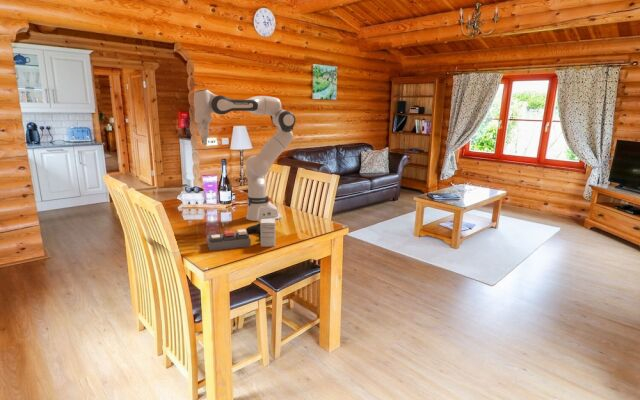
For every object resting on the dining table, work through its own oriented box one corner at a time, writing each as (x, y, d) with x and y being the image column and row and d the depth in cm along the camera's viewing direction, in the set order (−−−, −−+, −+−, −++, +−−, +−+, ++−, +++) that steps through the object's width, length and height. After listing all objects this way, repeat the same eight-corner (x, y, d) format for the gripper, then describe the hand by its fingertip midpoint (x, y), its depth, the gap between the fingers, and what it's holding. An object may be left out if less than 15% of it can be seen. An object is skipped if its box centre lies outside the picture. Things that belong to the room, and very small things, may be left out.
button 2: (245, 231, 190) (245, 229, 190) (246, 234, 186) (246, 231, 186) (237, 232, 188) (237, 229, 188) (238, 235, 185) (238, 232, 184)
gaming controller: (264, 244, 196) (278, 232, 201) (259, 237, 193) (273, 224, 198) (248, 236, 209) (261, 225, 213) (243, 229, 205) (256, 217, 210)
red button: (232, 233, 187) (232, 230, 187) (233, 235, 184) (233, 232, 183) (224, 233, 186) (224, 231, 186) (225, 236, 182) (225, 233, 182)
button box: (245, 238, 198) (245, 228, 196) (250, 246, 187) (250, 235, 186) (206, 242, 190) (206, 232, 189) (209, 250, 179) (209, 239, 178)
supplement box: (261, 241, 194) (261, 218, 191) (275, 241, 194) (275, 218, 191) (260, 246, 186) (260, 222, 184) (275, 246, 187) (275, 222, 184)
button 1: (219, 237, 185) (219, 234, 185) (220, 239, 182) (220, 236, 181) (211, 238, 184) (210, 235, 183) (212, 240, 180) (212, 237, 180)
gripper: (211, 120, 201) (212, 145, 204) (206, 119, 219) (208, 142, 222) (198, 120, 198) (200, 146, 201) (195, 118, 216) (197, 142, 220)
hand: (204, 144), depth 212 cm, fingers open, 8 cm apart
